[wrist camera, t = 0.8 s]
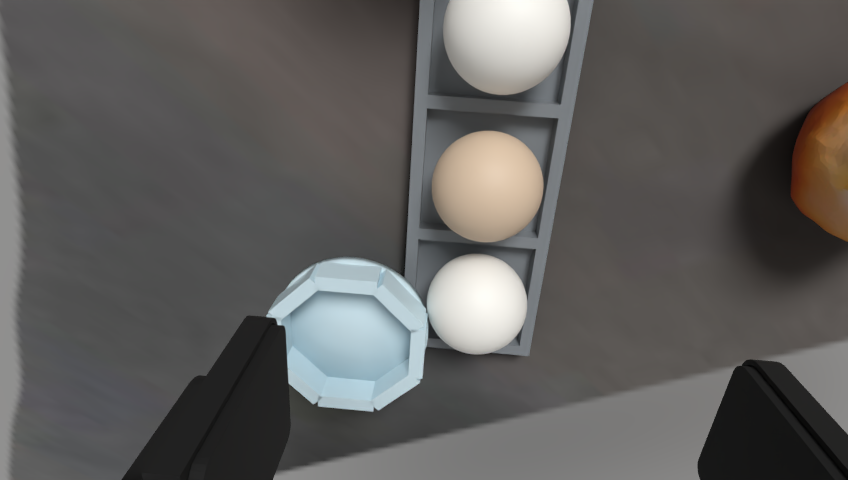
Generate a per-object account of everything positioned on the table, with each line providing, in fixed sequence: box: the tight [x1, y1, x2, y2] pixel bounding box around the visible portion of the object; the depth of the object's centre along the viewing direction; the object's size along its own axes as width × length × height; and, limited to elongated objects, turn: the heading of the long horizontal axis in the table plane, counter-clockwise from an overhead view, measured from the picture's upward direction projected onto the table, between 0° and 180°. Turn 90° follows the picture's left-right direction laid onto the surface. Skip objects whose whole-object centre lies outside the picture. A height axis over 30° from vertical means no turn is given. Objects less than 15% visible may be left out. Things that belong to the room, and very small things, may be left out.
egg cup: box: [266, 257, 429, 412], centre depth 27 cm, size 8×8×5 cm
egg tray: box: [405, 0, 594, 356], centre depth 25 cm, size 7×20×1 cm, turn 176°
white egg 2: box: [427, 254, 527, 354], centre depth 26 cm, size 5×5×5 cm
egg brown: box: [432, 131, 544, 242], centre depth 23 cm, size 5×5×5 cm
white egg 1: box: [443, 0, 571, 95], centre depth 21 cm, size 5×5×5 cm
